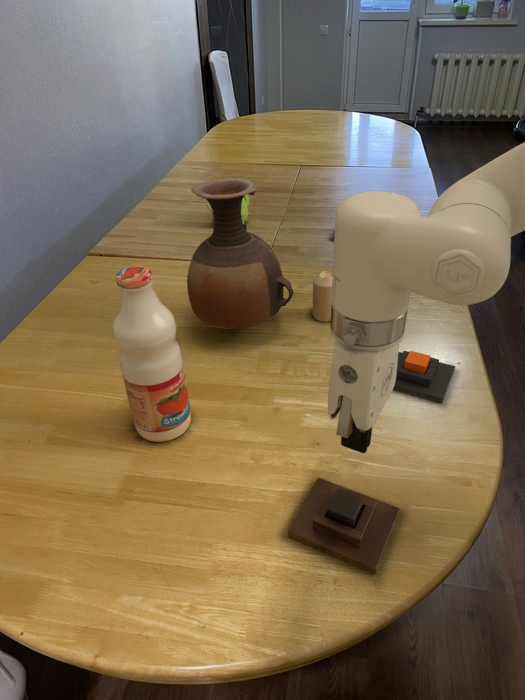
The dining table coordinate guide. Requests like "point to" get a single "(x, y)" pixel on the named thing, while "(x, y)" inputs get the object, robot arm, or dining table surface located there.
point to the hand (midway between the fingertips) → (355, 445)
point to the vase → (233, 264)
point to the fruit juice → (150, 358)
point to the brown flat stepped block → (345, 527)
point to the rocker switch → (345, 508)
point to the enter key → (417, 362)
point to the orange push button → (424, 379)
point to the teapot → (243, 208)
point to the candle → (322, 296)
